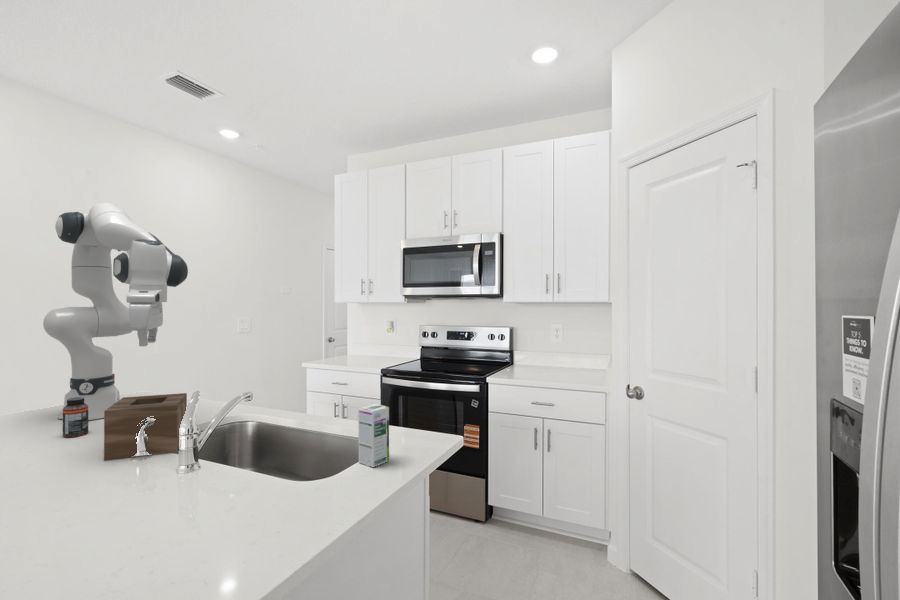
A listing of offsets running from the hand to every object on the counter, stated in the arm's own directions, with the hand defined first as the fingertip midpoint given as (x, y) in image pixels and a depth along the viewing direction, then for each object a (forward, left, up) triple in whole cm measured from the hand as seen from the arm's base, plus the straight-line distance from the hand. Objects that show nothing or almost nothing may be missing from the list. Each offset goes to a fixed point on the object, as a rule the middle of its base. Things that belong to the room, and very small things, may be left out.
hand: (147, 344), depth 120 cm
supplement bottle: (-20, -22, -29) cm, 42 cm away
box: (+1, +1, -29) cm, 29 cm away
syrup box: (+37, +57, -29) cm, 74 cm away
